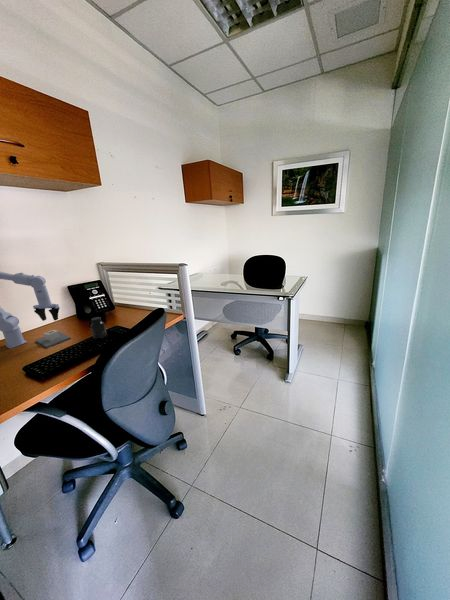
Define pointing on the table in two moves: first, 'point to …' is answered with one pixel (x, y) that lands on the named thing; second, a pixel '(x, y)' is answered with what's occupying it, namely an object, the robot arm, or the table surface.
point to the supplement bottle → (98, 328)
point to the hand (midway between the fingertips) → (50, 320)
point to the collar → (51, 335)
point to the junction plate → (54, 342)
